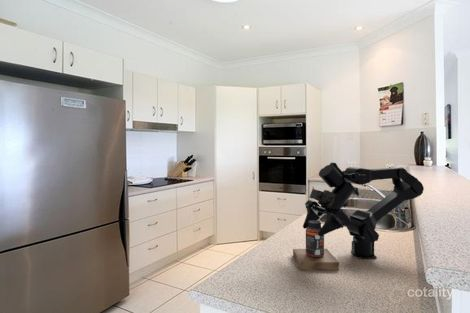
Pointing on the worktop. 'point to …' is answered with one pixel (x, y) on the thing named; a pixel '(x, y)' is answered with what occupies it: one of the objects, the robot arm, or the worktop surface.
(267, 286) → the worktop surface
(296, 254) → the walnut plinth
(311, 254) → the supplement bottle
